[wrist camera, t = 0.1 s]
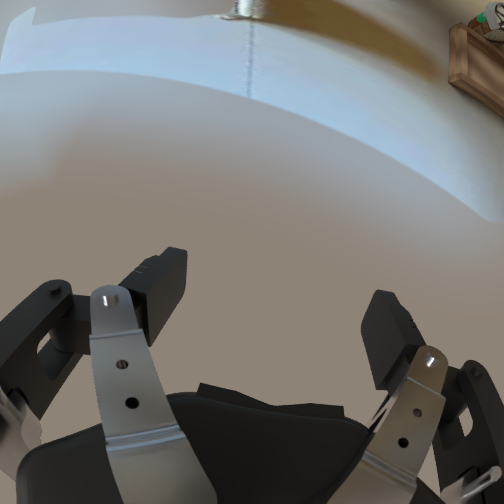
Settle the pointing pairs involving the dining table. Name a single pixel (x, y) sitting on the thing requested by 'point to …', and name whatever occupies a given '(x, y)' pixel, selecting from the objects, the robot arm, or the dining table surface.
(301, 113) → the dining table surface
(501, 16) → the food container
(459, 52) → the wooden box
